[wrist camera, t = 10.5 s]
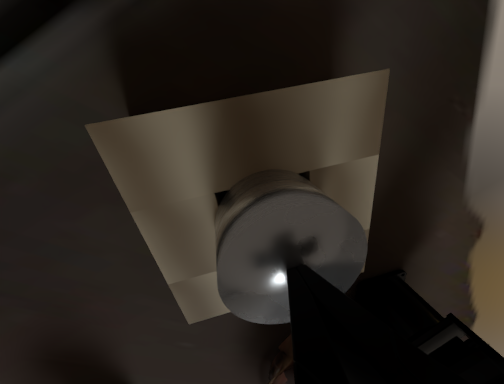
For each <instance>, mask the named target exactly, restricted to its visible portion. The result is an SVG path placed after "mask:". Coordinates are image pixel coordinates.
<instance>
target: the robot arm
mask: <svg viewBox="0 0 504 384" xmlns="http://www.w3.org/2000/svg"><path fill="white" fill-rule="evenodd" d="M286 272H287V285H288V298H289V311H290V324H291V337H292V350H293V362H294V363H293V365H294V378H295V384H504V357H502V356H501V355H500V354H499V353H498V352H496V351H495V350H494V349H493V348H492V347H491V346H489V345H488V344H487V343H486V342H485V341H483V340H482V339H481V338H480V337H479V336H478V335H476V334H475V333H474V332H473V331H472V330H471V329H469V328H468V327H467V326H466V325H465V324H463V323H462V322H461V321H460V320H459V319H458V318H456V317H455V316H454V315H453V314H452V313H449V314H448V315H446V316H447V317H446V318H443V317H442V316H441V315H440V314H439V313H438V312H437V311H436V310H435V309H434V308H433V307H431V306H430V305H429V304H428V303H427V302H426V301H425V300H424V299H423V298H422V297H421V296H420V295H418V294H417V293H416V292H415V291H414V290H413V289H412V288H411V287H410V286H409V285H408V284H406V283H405V282H404V281H405V278H406V272H405V271H404V270H399V271H395V272H392V273H389V274H386V275H382V276H379V277H376V278H373V279H369V280H366V281H363V282H360V283H359V284H358V286H357V295H356V302H355V301H354V300H352V299H351V298H350V297H348V296H347V295H346V294H344V293H343V292H342V291H340V290H339V289H338V288H336V287H335V286H334V285H332V284H331V283H330V282H328V281H327V280H326V279H324V278H323V277H322V276H320V275H319V274H318V273H316V272H315V271H314V270H312V269H311V268H310V267H308V266H307V265H305V264H303V265H300V266H297V267H296V268H295V267H293V268H289V269H287V270H286ZM465 335H466V336H467V337H468V338H469V339H467V340H466V341H464V342H463V341H462V340H461V339H460V338H462V337H463V336H465Z"/></svg>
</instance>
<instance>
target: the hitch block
mask: <svg viewBox="0 0 504 384" xmlns="http://www.w3.org/2000/svg"><path fill="white" fill-rule="evenodd" d="M389 72H390V69H385V70H380V71H375V72H369V73H364V74H358V75H353V76H347V77H342V78H337V79H331V80H326V81H320V82H315V83H310V84H304V85H299V86H293V87H288V88H283V89H277V90H272V91H266V92H261V93H256V94H250V95H245V96H239V97H234V98H228V99H223V100H218V101H212V102H207V103H201V104H196V105H191V106H185V107H180V108H174V109H169V110H164V111H158V112H153V113H147V114H142V115H136V116H131V117H126V118H120V119H115V120H109V121H104V122H99V123H93V124H88V125H85V127H86V129H87V131H88V133H89V134H90V136H91V138H92V140H93V142H94V144H95V146H96V148H97V150H98V152H99V154H100V155H101V157H102V159H103V161H104V163H105V165H106V167H107V169H108V171H109V173H110V175H111V176H112V178H113V180H114V182H115V184H116V186H117V188H118V190H119V192H120V194H121V196H122V197H123V199H124V201H125V203H126V205H127V207H128V209H129V211H130V213H131V215H132V217H133V218H134V220H135V222H136V224H137V226H138V228H139V230H140V232H141V234H142V236H143V238H144V239H145V241H146V243H147V245H148V247H149V249H150V251H151V253H152V255H153V257H154V259H155V260H156V262H157V264H158V266H159V268H160V270H161V272H162V274H163V276H164V278H165V280H166V281H167V283H168V285H169V287H170V289H171V291H172V293H173V295H174V297H175V299H176V301H177V302H178V304H179V306H180V308H181V310H182V312H183V314H184V316H185V318H186V320H187V322H188V323H189V324H192V323H195V322H199V321H202V320H205V319H209V318H212V317H215V316H218V315H222V314H225V313H228V312H231V311H230V310H229V309H228V308H227V307H226V306H225V305H224V303H223V302H222V300H221V298H220V295H219V292H218V287H217V267H216V243H215V216H216V212H217V209H218V206H219V204H220V202H221V200H222V198H221V194H220V192H221V191H225V190H230V189H231V188H232V187H233V186H234V185H235V184H236V183H238V182H239V181H240V180H242V179H244V178H245V177H247V176H249V175H251V174H254V173H257V172H260V171H264V170H270V169H281V170H288V171H292V172H295V173H297V174H300V175H301V176H303V177H305V178H306V179H307V180H308V181H310V182H311V183H312V184H313V185H315V186H316V187H317V188H319V189H320V190H321V191H322V192H324V193H325V194H326V195H327V196H329V197H330V198H331V199H332V200H334V201H335V202H336V203H337V204H339V205H340V206H341V207H343V208H344V209H345V210H346V211H348V212H349V213H350V214H351V215H352V216H354V217H355V218H356V219H357V220H358V221H359V223H360V224H361V225H362V227H363V229H364V231H365V234H366V237H367V244H368V236H369V229H370V221H371V213H372V205H373V197H374V190H375V182H376V174H377V166H378V158H379V150H380V143H381V135H382V127H383V119H384V111H385V104H386V96H387V88H388V80H389ZM364 268H365V263H364V266H363V268H362V270H361V272H364ZM361 272H360V273H361Z"/></svg>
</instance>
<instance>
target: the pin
mask: <svg viewBox="0 0 504 384" xmlns="http://www.w3.org/2000/svg"><path fill="white" fill-rule="evenodd" d="M215 243H216V267H217V287H218V292H219V295H220V298H221V300H222V302H223V303H224V305H225V306H226V307H227V308H228V309H229V310H230V311H231V312H232V313H233V314H235V315H236V316H238V317H240V318H242V319H244V320H247V321H250V322H254V323H259V324H282V323H288V322H290V311H289V298H288V285H287V272H286V270H287V269H289V268H293V267H295V268H296V267H297V266H300V265H303V264H305V265H307V266H308V267H310V268H311V269H312V270H314V271H315V272H316V273H318V274H319V275H320V276H322V277H323V278H324V279H326V280H327V281H328V282H330V283H331V284H332V285H334V286H335V287H336V288H338V289H339V290H340V291H342V292H343V293H345V292H346V291H347V290H348V289H349V288H350V287H351V286H352V284H353V283H354V282H355V281H356V279H357V277H358V276H359V274H360V272H361V270H362V268H363V266H364V263H365V260H366V256H367V246H368V245H367V237H366V234H365V231H364V229H363V227H362V225H361V224H360V223H359V221H358V220H357V219H356V218H355V217H354V216H352V215H351V214H350V213H349V212H348V211H346V210H345V209H344V208H343V207H341V206H340V205H339V204H337V203H336V202H335V201H334V200H332V199H331V198H330V197H329V196H327V195H326V194H325V193H324V192H322V191H321V190H320V189H319V188H317V187H316V186H315V185H313V184H312V183H311V182H310V181H308V180H307V179H306V178H305V177H303V176H301V175H300V174H297V173H295V172H292V171H288V170H281V169H270V170H264V171H260V172H257V173H254V174H251V175H249V176H247V177H245V178H244V179H242V180H240V181H239V182H238V183H236V184H235V185H234V186H233V187H232V188H231V189H230V190H229V191H228V192H227V193H226V194H225V196H224V197H223V199H222V200H221V202H220V204H219V206H218V209H217V212H216V216H215Z"/></svg>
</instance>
